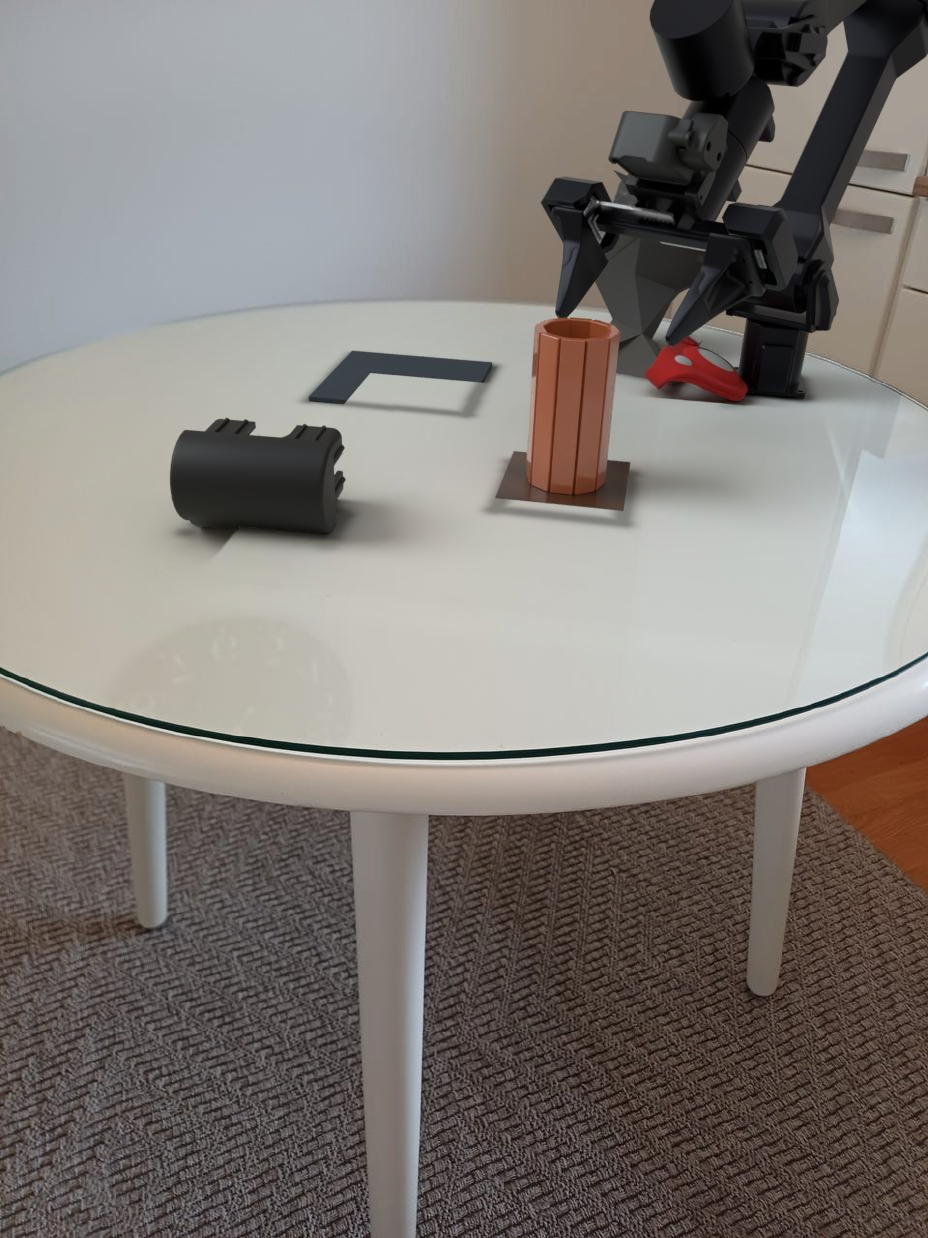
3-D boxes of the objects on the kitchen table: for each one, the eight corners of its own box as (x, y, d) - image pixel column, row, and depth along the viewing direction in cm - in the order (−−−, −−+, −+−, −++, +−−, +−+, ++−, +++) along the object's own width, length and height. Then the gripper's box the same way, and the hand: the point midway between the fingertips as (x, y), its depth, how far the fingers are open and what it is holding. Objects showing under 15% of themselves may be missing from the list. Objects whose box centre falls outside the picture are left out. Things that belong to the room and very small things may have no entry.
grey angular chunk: (730, 346, 113) (759, 160, 104) (673, 384, 102) (699, 179, 93) (607, 322, 119) (623, 145, 110) (539, 356, 108) (552, 162, 99)
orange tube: (531, 460, 82) (540, 314, 76) (607, 468, 81) (622, 320, 76) (520, 490, 77) (529, 336, 72) (602, 498, 76) (617, 343, 71)
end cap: (175, 544, 71) (163, 446, 67) (213, 500, 77) (203, 408, 73) (324, 558, 70) (320, 459, 66) (351, 512, 76) (348, 419, 72)
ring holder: (512, 462, 84) (516, 387, 81) (629, 473, 83) (637, 398, 80) (494, 510, 77) (497, 429, 74) (622, 523, 75) (631, 441, 72)
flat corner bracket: (352, 354, 107) (352, 350, 107) (492, 366, 105) (492, 361, 105) (308, 400, 95) (308, 396, 95) (465, 414, 93) (465, 410, 93)
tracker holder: (774, 388, 98) (705, 372, 92) (746, 429, 101) (677, 416, 94) (694, 319, 105) (625, 299, 99) (670, 359, 108) (601, 342, 101)
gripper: (565, 54, 77) (461, 237, 75) (812, 73, 67) (700, 284, 65) (614, 163, 87) (523, 328, 85) (838, 194, 77) (740, 382, 75)
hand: (612, 329), depth 77 cm, fingers open, 9 cm apart
